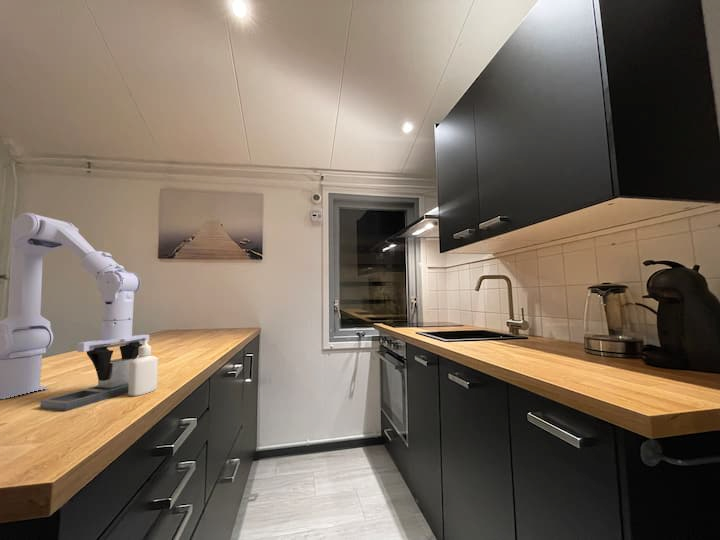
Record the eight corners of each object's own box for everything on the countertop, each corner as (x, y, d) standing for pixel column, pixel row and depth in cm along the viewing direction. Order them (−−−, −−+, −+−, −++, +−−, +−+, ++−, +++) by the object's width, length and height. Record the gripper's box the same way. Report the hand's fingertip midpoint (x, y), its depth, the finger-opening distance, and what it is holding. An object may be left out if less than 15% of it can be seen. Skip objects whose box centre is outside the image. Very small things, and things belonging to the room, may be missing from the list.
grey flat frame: (40, 408, 59) (40, 399, 59) (119, 386, 73) (119, 379, 74) (65, 411, 57) (66, 402, 57) (142, 388, 71) (142, 381, 71)
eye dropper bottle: (126, 393, 67) (129, 341, 68) (155, 388, 71) (157, 338, 72) (129, 398, 64) (131, 343, 65) (159, 391, 68) (161, 340, 69)
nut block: (97, 388, 67) (99, 361, 68) (118, 382, 72) (120, 357, 72) (111, 389, 66) (112, 362, 67) (131, 383, 70) (133, 358, 71)
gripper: (94, 322, 62) (90, 387, 61) (158, 317, 76) (156, 370, 75) (72, 322, 64) (68, 385, 63) (139, 318, 78) (137, 369, 77)
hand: (115, 377), depth 69 cm, fingers closed on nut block, 4 cm apart
